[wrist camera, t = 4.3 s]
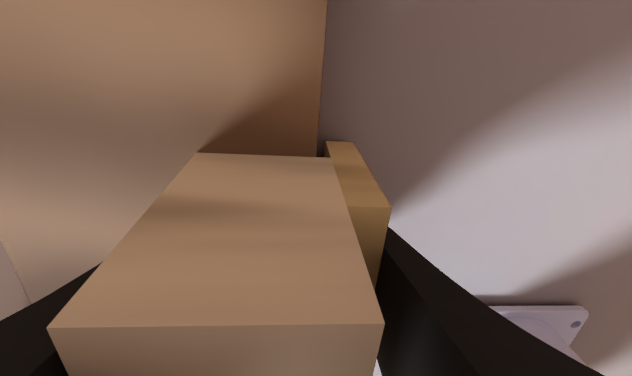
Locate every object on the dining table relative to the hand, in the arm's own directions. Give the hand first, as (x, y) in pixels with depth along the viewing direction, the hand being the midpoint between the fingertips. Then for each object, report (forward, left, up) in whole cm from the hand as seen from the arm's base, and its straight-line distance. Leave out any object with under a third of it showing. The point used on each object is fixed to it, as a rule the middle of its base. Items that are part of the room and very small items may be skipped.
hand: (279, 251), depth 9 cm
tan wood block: (0, 0, -3) cm, 3 cm away
